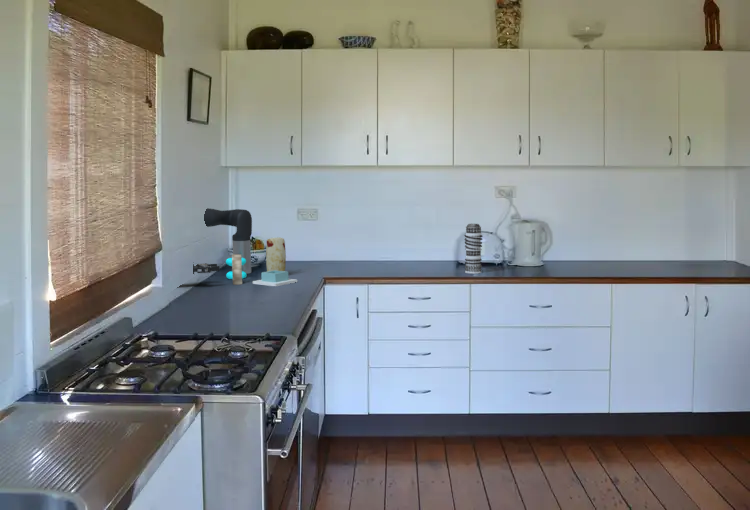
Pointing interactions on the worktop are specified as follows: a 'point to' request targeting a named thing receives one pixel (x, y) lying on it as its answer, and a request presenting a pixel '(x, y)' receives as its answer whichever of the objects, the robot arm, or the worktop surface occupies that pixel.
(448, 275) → the worktop surface
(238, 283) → the birch peg
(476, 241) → the decorative candle
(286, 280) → the socket block
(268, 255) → the food model
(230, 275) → the donuts
